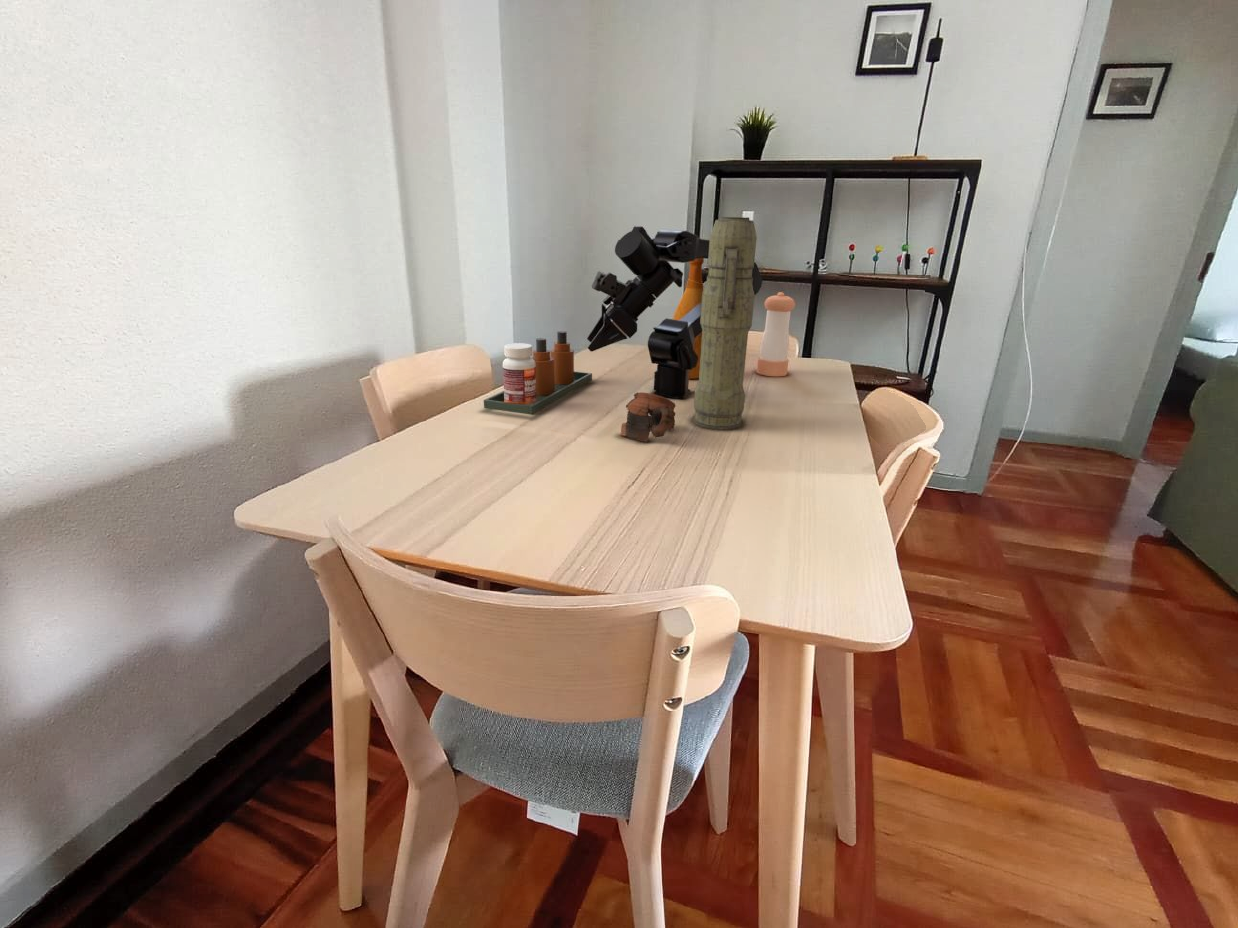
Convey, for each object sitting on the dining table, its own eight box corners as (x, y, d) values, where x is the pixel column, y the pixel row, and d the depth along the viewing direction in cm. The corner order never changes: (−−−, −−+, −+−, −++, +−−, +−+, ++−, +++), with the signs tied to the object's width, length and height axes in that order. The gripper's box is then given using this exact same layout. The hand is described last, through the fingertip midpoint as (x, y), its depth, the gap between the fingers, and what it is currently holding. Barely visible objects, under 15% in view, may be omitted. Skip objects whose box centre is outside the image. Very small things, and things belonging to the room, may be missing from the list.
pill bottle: (531, 410, 114) (529, 350, 110) (499, 407, 115) (496, 348, 111) (540, 401, 120) (539, 343, 115) (510, 398, 121) (508, 341, 116)
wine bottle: (712, 380, 141) (723, 243, 129) (669, 379, 141) (677, 242, 130) (706, 370, 150) (716, 241, 139) (667, 369, 150) (673, 240, 139)
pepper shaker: (750, 372, 149) (758, 291, 142) (767, 368, 154) (776, 290, 147) (775, 378, 144) (785, 295, 137) (792, 373, 149) (803, 293, 142)
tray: (592, 383, 136) (592, 373, 136) (532, 418, 112) (531, 406, 111) (551, 378, 140) (551, 368, 139) (484, 411, 115) (483, 400, 114)
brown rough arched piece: (607, 434, 106) (620, 389, 107) (649, 450, 111) (662, 407, 112) (643, 437, 96) (658, 387, 96) (689, 455, 101) (703, 407, 101)
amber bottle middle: (558, 391, 127) (558, 338, 123) (547, 397, 122) (546, 342, 118) (537, 388, 128) (535, 336, 124) (526, 394, 124) (523, 340, 120)
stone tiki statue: (737, 413, 117) (756, 218, 104) (746, 433, 107) (768, 218, 93) (691, 411, 118) (704, 216, 105) (695, 431, 107) (710, 216, 94)
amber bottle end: (577, 380, 135) (577, 330, 131) (568, 386, 131) (567, 334, 127) (557, 378, 137) (556, 329, 133) (547, 383, 132) (545, 332, 128)
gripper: (614, 253, 123) (560, 308, 126) (620, 259, 106) (557, 323, 109) (651, 293, 126) (598, 346, 130) (663, 306, 109) (601, 367, 113)
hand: (589, 345), depth 120 cm, fingers open, 9 cm apart
